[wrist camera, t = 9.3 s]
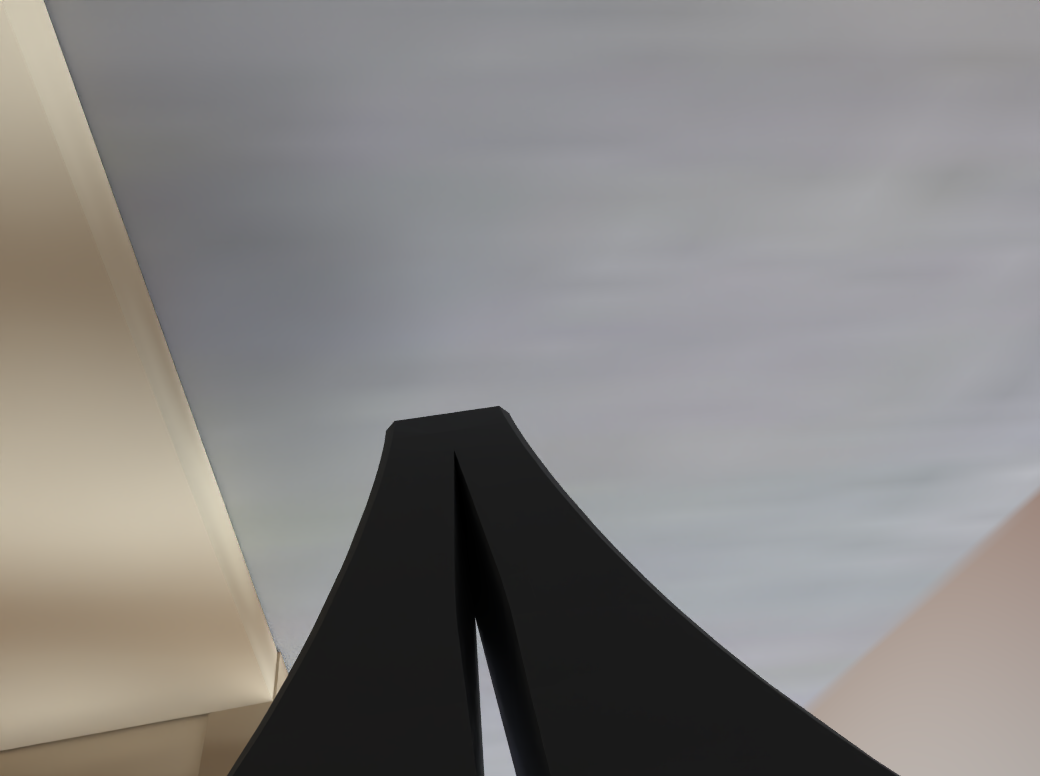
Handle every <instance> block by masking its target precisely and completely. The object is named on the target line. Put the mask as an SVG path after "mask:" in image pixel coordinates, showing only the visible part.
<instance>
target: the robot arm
mask: <svg viewBox="0 0 1040 776" xmlns="http://www.w3.org/2000/svg"><path fill="white" fill-rule="evenodd" d="M475 618H476V622H477V626H478V629H479V633H480V637H481V641H482V645H483V649H484V653H485V657H486V660H487V664H488V668H489V672H490V676H491V680H492V684H493V687H494V691H495V695H496V699H497V703H498V707H499V710H500V714H501V718H502V722H503V726H504V730H505V733H506V737H507V741H508V745H509V749H510V753H511V757H512V760H513V764H514V768H515V772H516V776H899V775H898V774H896V773H895V772H893V771H892V770H890V769H889V768H887V767H886V766H884V765H882V764H881V763H879V762H878V761H876V760H875V759H873V758H872V757H871V756H869V755H867V754H866V753H865V752H864V751H862V750H861V749H859V748H858V747H857V746H855V745H854V744H852V743H851V742H849V741H848V740H847V739H845V738H844V737H843V736H841V735H840V734H838V733H837V732H836V731H834V730H833V729H831V728H830V727H828V726H827V725H826V724H825V723H823V722H822V721H820V720H819V719H818V718H816V717H815V716H813V715H812V714H811V713H809V712H808V711H806V710H805V709H804V708H802V707H801V706H799V705H798V704H797V703H795V702H794V701H792V700H791V699H790V698H788V697H787V696H785V695H784V694H783V693H781V692H780V691H778V690H777V689H776V688H774V687H773V686H772V685H770V684H769V683H768V682H766V681H765V680H764V679H762V678H761V677H760V676H759V675H757V674H756V673H755V672H754V671H752V670H751V669H750V668H749V667H748V666H746V665H745V664H744V663H743V662H741V661H740V660H739V659H738V658H736V657H735V656H734V655H733V654H731V653H730V652H729V651H728V650H726V649H725V648H724V647H723V646H721V645H720V644H719V643H718V642H716V641H715V640H714V639H713V638H712V637H711V636H710V635H708V634H707V633H706V632H705V631H704V630H703V629H701V628H700V627H699V626H698V625H697V624H696V623H694V622H693V621H692V620H691V619H690V618H689V617H687V616H686V615H685V614H684V613H683V612H682V611H681V610H679V609H678V608H677V607H676V606H675V605H674V604H673V603H672V602H671V601H670V600H669V599H667V598H666V597H665V596H664V595H663V594H662V593H661V592H660V591H659V590H658V589H657V588H656V587H655V586H654V585H653V584H651V583H650V582H649V581H648V580H647V579H646V578H645V577H644V576H643V575H642V574H641V573H640V572H639V571H638V570H637V569H636V568H635V567H634V566H633V565H632V564H631V563H630V562H629V561H628V560H627V559H626V558H625V557H624V556H623V555H622V554H621V553H620V552H619V551H618V550H617V549H616V548H615V547H614V546H613V545H612V543H611V542H610V541H609V540H608V539H607V538H606V537H605V536H604V535H603V534H602V533H601V532H600V531H599V530H598V528H597V527H596V526H595V525H594V524H593V523H592V522H591V521H590V519H589V518H588V517H587V516H586V515H585V514H584V513H583V511H582V510H581V509H580V508H579V507H578V506H577V505H576V503H575V502H574V501H573V500H572V499H571V498H570V497H569V495H568V494H567V493H566V492H565V491H564V490H563V488H562V487H561V486H560V485H559V483H558V482H557V481H556V480H555V479H554V477H553V476H552V475H551V474H550V472H549V471H548V470H547V468H546V467H545V466H544V464H543V463H542V462H541V460H540V459H539V458H538V457H537V455H536V454H535V452H534V451H533V450H532V448H531V447H530V446H529V444H528V443H527V441H526V440H525V438H524V437H523V435H522V434H521V432H520V431H519V429H518V428H517V426H516V425H515V423H514V421H513V420H512V418H511V416H510V414H509V413H508V412H507V411H505V410H504V409H503V408H501V407H500V406H496V407H489V408H482V409H475V410H468V411H461V412H454V413H447V414H440V415H434V416H427V417H420V418H413V419H406V420H399V421H394V422H393V424H392V425H391V426H390V427H389V428H388V429H387V430H386V436H385V443H384V448H383V452H382V456H381V460H380V464H379V468H378V471H377V474H376V478H375V481H374V484H373V487H372V490H371V493H370V496H369V499H368V502H367V505H366V508H365V510H364V513H363V515H362V518H361V520H360V523H359V526H358V528H357V531H356V533H355V536H354V538H353V541H352V544H351V546H350V549H349V551H348V554H347V556H346V558H345V561H344V563H343V565H342V568H341V570H340V572H339V574H338V576H337V578H336V580H335V583H334V585H333V587H332V589H331V591H330V593H329V595H328V597H327V600H326V602H325V604H324V606H323V608H322V610H321V612H320V614H319V617H318V619H317V621H316V623H315V625H314V627H313V629H312V631H311V633H310V635H309V637H308V639H307V641H306V642H305V644H304V646H303V648H302V650H301V652H300V654H299V656H298V658H297V660H296V661H295V663H294V665H293V667H292V669H291V670H290V672H289V674H288V676H287V678H286V680H285V681H284V683H283V685H282V686H281V688H280V690H279V692H278V693H277V695H276V697H275V699H274V700H273V702H272V704H271V705H270V707H269V709H268V711H267V712H266V714H265V716H264V717H263V719H262V721H261V722H260V724H259V726H258V727H257V729H256V731H255V732H254V734H253V735H252V737H251V738H250V740H249V742H248V743H247V745H246V746H245V748H244V749H243V751H242V753H241V754H240V756H239V757H238V759H237V760H236V762H235V764H234V765H233V767H232V768H231V770H230V771H229V773H228V775H227V776H484V764H483V746H482V728H481V711H480V693H479V675H478V657H477V640H476V623H475Z"/></svg>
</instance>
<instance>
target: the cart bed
mask: <svg viewBox="0 0 1040 776" xmlns="http://www.w3.org/2000/svg"><path fill="white" fill-rule="evenodd" d="M287 676H288V672H287V669H286V666H285V664H284V661H283V658H282V655H281V652H277V650H276V647H275V644H274V641H273V638H272V636H271V633H270V630H269V627H268V625H267V622H266V619H265V616H264V613H263V611H262V608H261V605H260V602H259V599H258V597H257V594H256V591H255V588H254V586H253V583H252V580H251V577H250V574H249V572H248V569H247V566H246V563H245V560H244V558H243V555H242V552H241V549H240V547H239V544H238V541H237V538H236V535H235V533H234V530H233V527H232V524H231V521H230V519H229V516H228V513H227V510H226V508H225V505H224V502H223V499H222V496H221V494H220V491H219V488H218V485H217V482H216V480H215V477H214V474H213V471H212V469H211V466H210V463H209V460H208V457H207V455H206V452H205V449H204V446H203V443H202V441H201V438H200V435H199V432H198V430H197V427H196V424H195V421H194V418H193V416H192V413H191V410H190V407H189V404H188V402H187V399H186V396H185V393H184V391H183V388H182V385H181V382H180V379H179V377H178V374H177V371H176V368H175V365H174V363H173V360H172V357H171V354H170V352H169V349H168V346H167V343H166V340H165V338H164V335H163V332H162V329H161V326H160V324H159V321H158V318H157V315H156V313H155V310H154V307H153V304H152V301H151V299H150V296H149V293H148V290H147V287H146V285H145V282H144V279H143V276H142V274H141V271H140V268H139V265H138V262H137V260H136V257H135V254H134V251H133V248H132V246H131V243H130V240H129V237H128V235H127V232H126V229H125V226H124V223H123V221H122V218H121V215H120V212H119V209H118V207H117V204H116V201H115V198H114V196H113V193H112V190H111V187H110V184H109V182H108V179H107V176H106V173H105V170H104V168H103V165H102V162H101V159H100V157H99V154H98V151H97V148H96V145H95V143H94V140H93V137H92V134H91V131H90V129H89V126H88V123H87V120H86V117H85V115H84V112H83V109H82V106H81V104H80V101H79V98H78V95H77V92H76V90H75V87H74V84H73V81H72V78H71V76H70V73H69V70H68V67H67V65H66V62H65V59H64V56H63V53H62V51H61V48H60V45H59V42H58V39H57V37H56V34H55V31H54V28H53V26H52V23H51V20H50V17H49V14H48V12H47V9H46V6H45V3H44V0H0V776H227V775H228V773H229V771H230V770H231V768H232V767H233V765H234V764H235V762H236V760H237V759H238V757H239V756H240V754H241V753H242V751H243V749H244V748H245V746H246V745H247V743H248V742H249V740H250V738H251V737H252V735H253V734H254V732H255V731H256V729H257V727H258V726H259V724H260V722H261V721H262V719H263V717H264V716H265V714H266V712H267V711H268V709H269V707H270V705H271V704H272V702H273V700H274V699H275V697H276V695H277V693H278V692H279V690H280V688H281V686H282V685H283V683H284V681H285V680H286V678H287Z"/></svg>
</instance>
